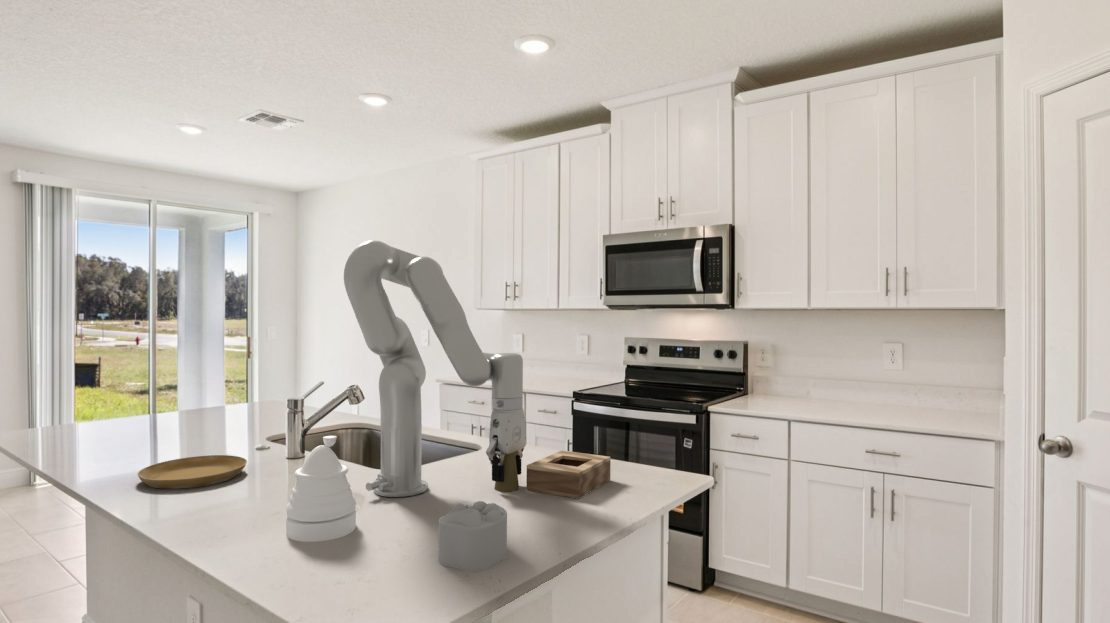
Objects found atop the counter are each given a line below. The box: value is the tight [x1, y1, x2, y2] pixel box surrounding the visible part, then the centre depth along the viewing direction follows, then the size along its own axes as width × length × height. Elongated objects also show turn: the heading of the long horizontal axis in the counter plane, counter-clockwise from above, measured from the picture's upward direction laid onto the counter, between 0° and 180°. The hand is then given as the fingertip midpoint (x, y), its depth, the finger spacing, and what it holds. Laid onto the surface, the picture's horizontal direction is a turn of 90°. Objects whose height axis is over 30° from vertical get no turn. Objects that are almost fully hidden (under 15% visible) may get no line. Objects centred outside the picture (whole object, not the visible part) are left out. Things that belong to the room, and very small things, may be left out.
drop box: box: [526, 450, 611, 499], centre depth 157 cm, size 18×14×6 cm
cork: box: [494, 449, 520, 493], centre depth 154 cm, size 6×6×11 cm
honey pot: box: [285, 435, 357, 543], centre depth 125 cm, size 13×13×18 cm
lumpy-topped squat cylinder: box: [437, 500, 508, 572], centre depth 113 cm, size 10×13×9 cm
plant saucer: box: [137, 454, 248, 490], centre depth 162 cm, size 24×24×3 cm
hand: (506, 476), depth 154 cm, fingers open, 6 cm apart
